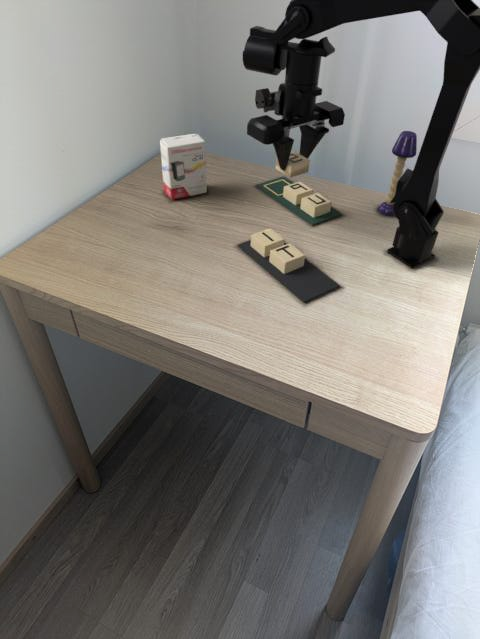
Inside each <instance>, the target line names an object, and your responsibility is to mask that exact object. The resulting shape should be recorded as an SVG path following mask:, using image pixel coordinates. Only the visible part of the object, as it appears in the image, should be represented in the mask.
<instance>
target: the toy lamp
mask: <svg viewBox="0 0 480 639" xmlns="http://www.w3.org/2000/svg"><path fill="white" fill-rule="evenodd" d="M417 144H418V135H417V133H416V132H414V131H411V130H403V131H401V132H400V133H399V136H398V137H397V138H396V140H395V143H394V145H393V147H392V149H391V153H392V154H393V155H394V156H396V159H397V161H396V162H395V165H394V166H395V168H394V170H393V175H392V176H391V183H390V185H389V190H388V192H387V198H386V201H383V202H381V203H380V204H379V206H378V208H377V211H378V212H379V213H380V214H381V215H384V216H389V217H391V216H393V217H394V216H395V214H393V205H394V203H391V200H392V199H393V197H394V196H395V193H396V186H397V182H398V180H399V179H400V178H401V176H402V175H403V174H404V168H405V166H406V161H407V159H412V158H414V157H416V155H417V150H418V148H417V147H418V145H417Z"/></svg>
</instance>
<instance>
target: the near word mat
mask: <svg viewBox="0 0 480 639" xmlns="http://www.w3.org/2000/svg"><path fill="white" fill-rule="evenodd" d="M237 247H238V248H239V249H240V250H241V251H243V252H244V253H245V254H246V255H247V256H249V257H250V258H251V259H252V260H253V261H254V262H255V263H257V264H258V265H259V266H260V267H261V268H262V269H264V270H265V271H266V272H267V273H268V274H270V276H272V277H273V278H274V279H275V280H276V281H278V282H279V283H280V284H281V286H283V287H284V288H286V289H287V290H288V291H289V292H290V293H291V294H293V295H294V297H296V298H297V299H298V300H299V301H301V302H302V303H303V304H307V303H308V302H310V301H312V300H314V299H315V300H316V299H317V298H319V297H321V296H323V295H325V294H328V293H330V292H333V291H335V290H337V289H339V288H340V287H341V285H340V284H339V283H338V282H336V281H335V280H333V279H332V278H331V277H329V276H328V275H327V274H326V273H324V271H322V270H321V269H319V268H318V267H317V266H315V265H314V264H313V263H312V262H310V261H309V260H308V259H306V254H305V253H304V252H302V251H301V250H299V249H298V248H297V247H296V246H294V245H293V244H292V243H286V242H285V238H284V237H282V236H281V235H280V234H279V233H277V232H276V231H275V230H273V228H267V229H264V230H261V231H258V232H255V233H253V234H252V233H251V234H250V240H247V241H244V242H241V243H239V244H237Z"/></svg>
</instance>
